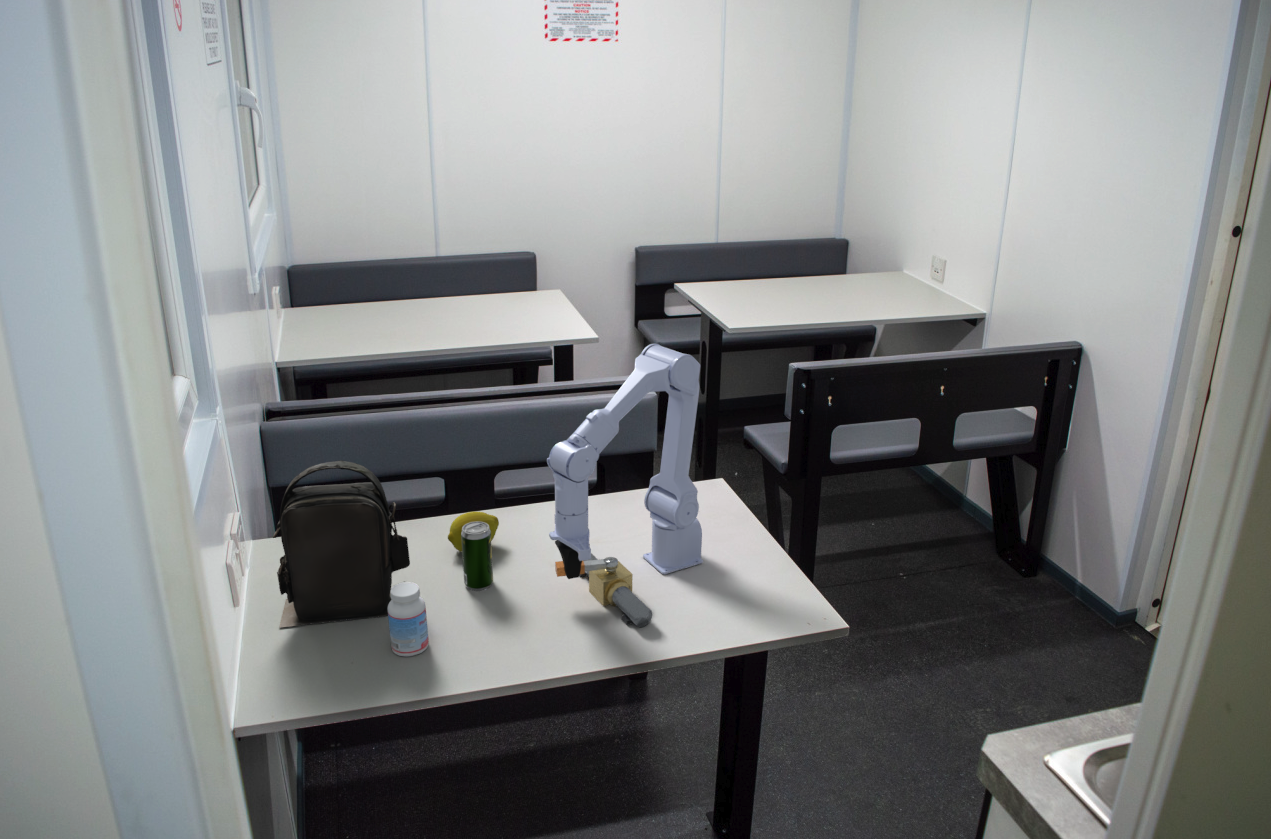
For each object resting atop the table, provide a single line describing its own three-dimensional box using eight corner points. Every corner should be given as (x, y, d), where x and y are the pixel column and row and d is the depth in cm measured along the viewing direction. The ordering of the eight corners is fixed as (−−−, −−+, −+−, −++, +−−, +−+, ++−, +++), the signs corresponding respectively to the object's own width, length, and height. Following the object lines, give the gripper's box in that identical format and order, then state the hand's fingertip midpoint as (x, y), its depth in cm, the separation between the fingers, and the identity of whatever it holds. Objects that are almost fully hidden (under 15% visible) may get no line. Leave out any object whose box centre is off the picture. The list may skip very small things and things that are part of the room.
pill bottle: (431, 653, 148) (426, 595, 144) (393, 661, 146) (387, 602, 142) (426, 633, 153) (421, 576, 149) (389, 640, 151) (383, 582, 147)
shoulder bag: (414, 586, 167) (401, 448, 157) (414, 613, 159) (401, 470, 149) (286, 600, 162) (264, 459, 152) (279, 629, 154) (256, 481, 144)
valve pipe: (594, 563, 176) (594, 539, 175) (658, 624, 157) (658, 598, 155) (567, 570, 174) (567, 546, 172) (628, 634, 154) (628, 607, 152)
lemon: (453, 564, 175) (451, 527, 172) (442, 546, 181) (440, 511, 178) (506, 552, 179) (505, 516, 176) (494, 535, 186) (492, 500, 183)
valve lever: (616, 565, 165) (616, 554, 164) (619, 572, 162) (619, 561, 162) (555, 571, 162) (555, 561, 162) (557, 579, 160) (557, 568, 159)
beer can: (471, 595, 164) (468, 537, 160) (459, 581, 169) (456, 525, 164) (498, 586, 167) (495, 529, 163) (486, 574, 171) (483, 518, 167)
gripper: (537, 494, 160) (539, 561, 165) (562, 530, 147) (563, 601, 152) (575, 488, 162) (576, 554, 167) (602, 523, 150) (602, 593, 155)
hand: (572, 576), depth 160 cm, fingers closed, pressing on valve lever
